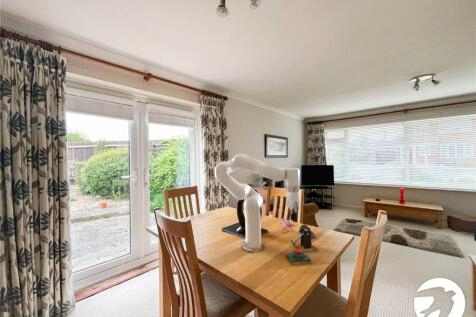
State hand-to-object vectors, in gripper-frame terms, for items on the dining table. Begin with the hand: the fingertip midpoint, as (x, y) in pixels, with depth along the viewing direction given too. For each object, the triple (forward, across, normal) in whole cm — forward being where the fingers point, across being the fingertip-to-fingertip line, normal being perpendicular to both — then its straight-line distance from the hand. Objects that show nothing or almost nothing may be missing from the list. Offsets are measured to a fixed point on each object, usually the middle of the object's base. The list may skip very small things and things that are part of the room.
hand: (293, 220), depth 118 cm
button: (+15, +9, 0) cm, 18 cm away
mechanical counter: (+19, -21, +16) cm, 33 cm away
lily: (+19, -32, +5) cm, 38 cm away
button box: (+19, +9, 0) cm, 21 cm away
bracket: (+19, -4, +8) cm, 21 cm away
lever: (+13, -3, +6) cm, 14 cm away
